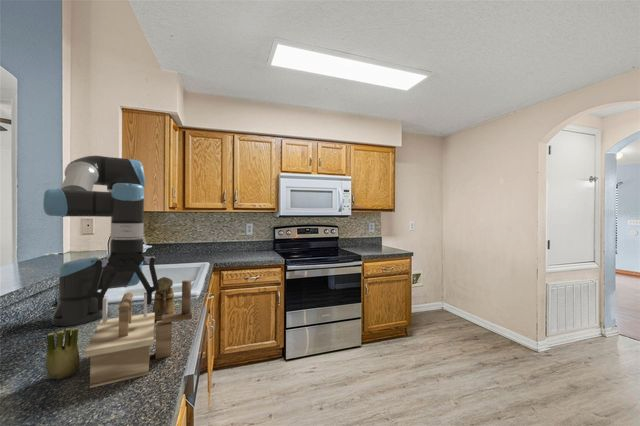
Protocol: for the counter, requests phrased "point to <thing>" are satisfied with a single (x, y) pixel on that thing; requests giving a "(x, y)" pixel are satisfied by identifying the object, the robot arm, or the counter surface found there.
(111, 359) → the toolbox
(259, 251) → the counter surface
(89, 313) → the robot arm
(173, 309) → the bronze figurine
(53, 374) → the fennel bulb
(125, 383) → the counter surface
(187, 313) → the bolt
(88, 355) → the lid
